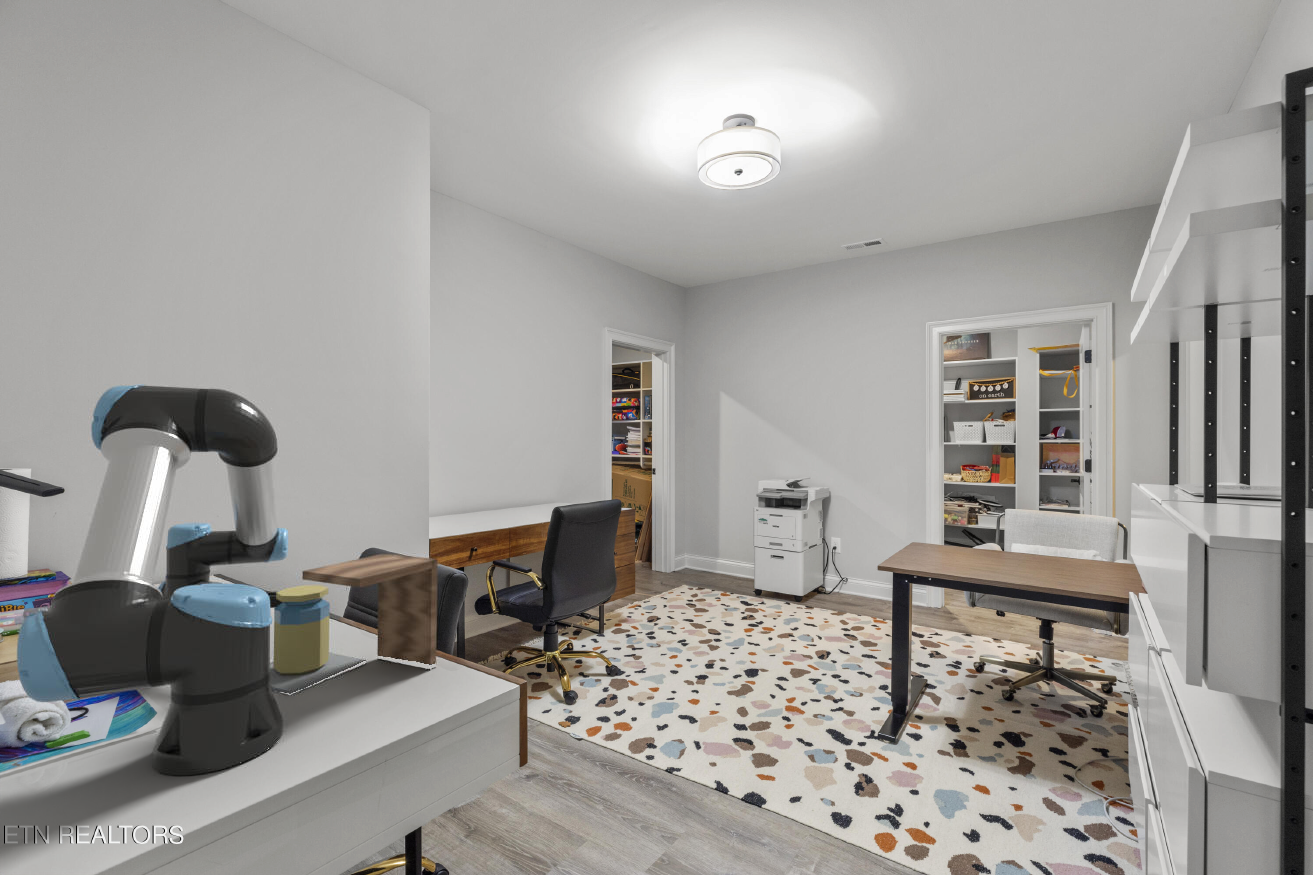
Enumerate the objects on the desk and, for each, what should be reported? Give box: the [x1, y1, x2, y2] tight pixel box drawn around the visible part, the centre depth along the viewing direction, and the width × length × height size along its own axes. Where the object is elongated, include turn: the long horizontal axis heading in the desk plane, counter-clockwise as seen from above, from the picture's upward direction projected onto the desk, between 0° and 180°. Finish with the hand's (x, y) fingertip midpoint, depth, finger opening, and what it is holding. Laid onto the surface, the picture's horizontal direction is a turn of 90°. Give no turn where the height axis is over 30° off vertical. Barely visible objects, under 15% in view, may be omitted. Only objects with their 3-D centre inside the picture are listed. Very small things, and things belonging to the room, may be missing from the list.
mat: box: [270, 652, 367, 694], centre depth 113 cm, size 16×16×1 cm
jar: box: [273, 584, 331, 675], centre depth 113 cm, size 9×9×15 cm
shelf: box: [301, 553, 439, 665], centre depth 110 cm, size 14×18×22 cm
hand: (284, 613), depth 116 cm, fingers open, 13 cm apart
